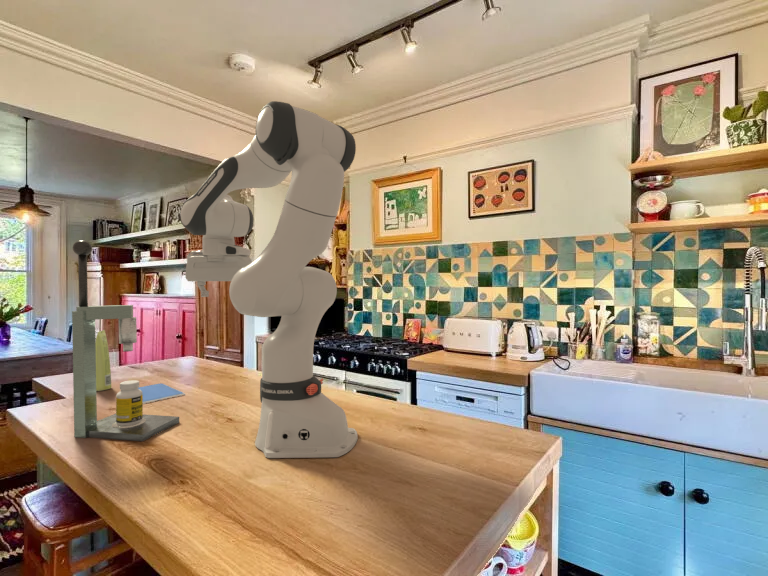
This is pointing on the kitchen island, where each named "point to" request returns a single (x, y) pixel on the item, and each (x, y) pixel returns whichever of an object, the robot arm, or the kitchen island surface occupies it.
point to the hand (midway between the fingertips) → (219, 296)
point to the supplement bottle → (129, 403)
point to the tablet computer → (158, 392)
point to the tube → (102, 362)
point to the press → (86, 365)
